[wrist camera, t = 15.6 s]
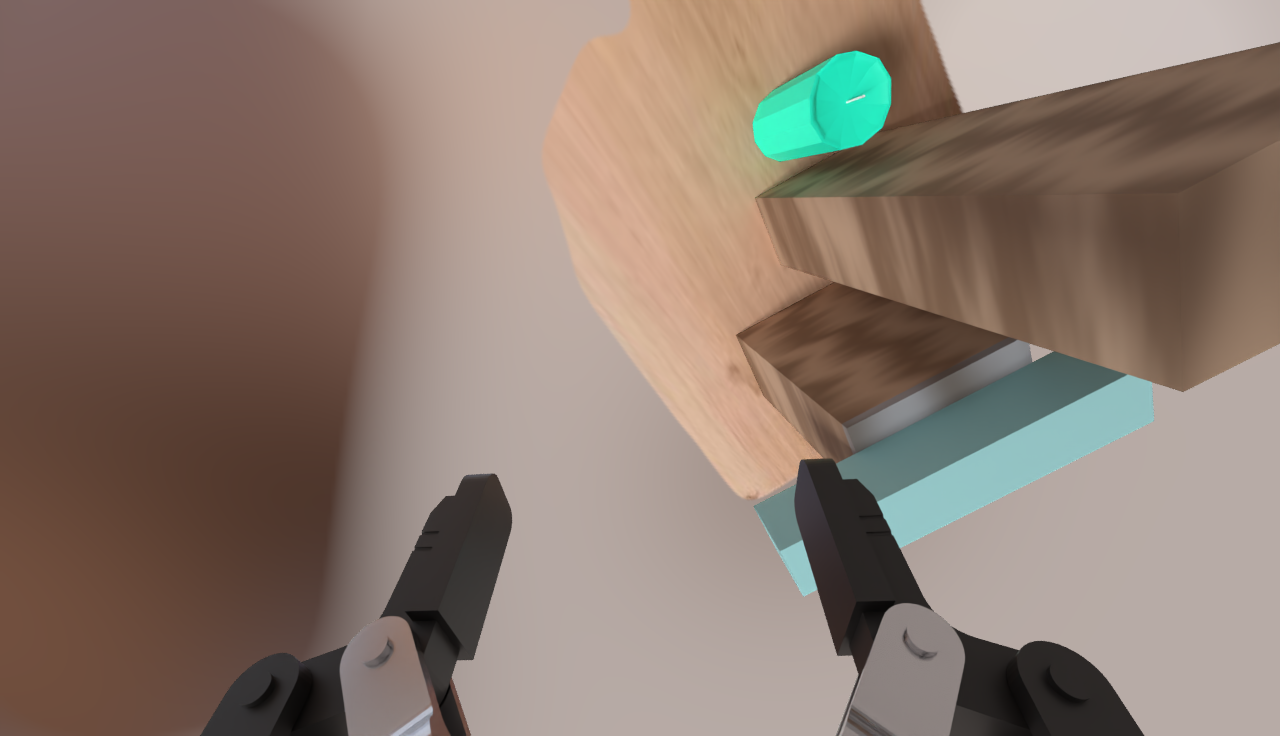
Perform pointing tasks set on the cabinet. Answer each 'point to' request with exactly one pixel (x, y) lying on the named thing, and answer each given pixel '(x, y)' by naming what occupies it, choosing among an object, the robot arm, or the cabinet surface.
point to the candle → (825, 108)
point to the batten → (978, 450)
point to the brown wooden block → (869, 366)
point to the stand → (1071, 218)
